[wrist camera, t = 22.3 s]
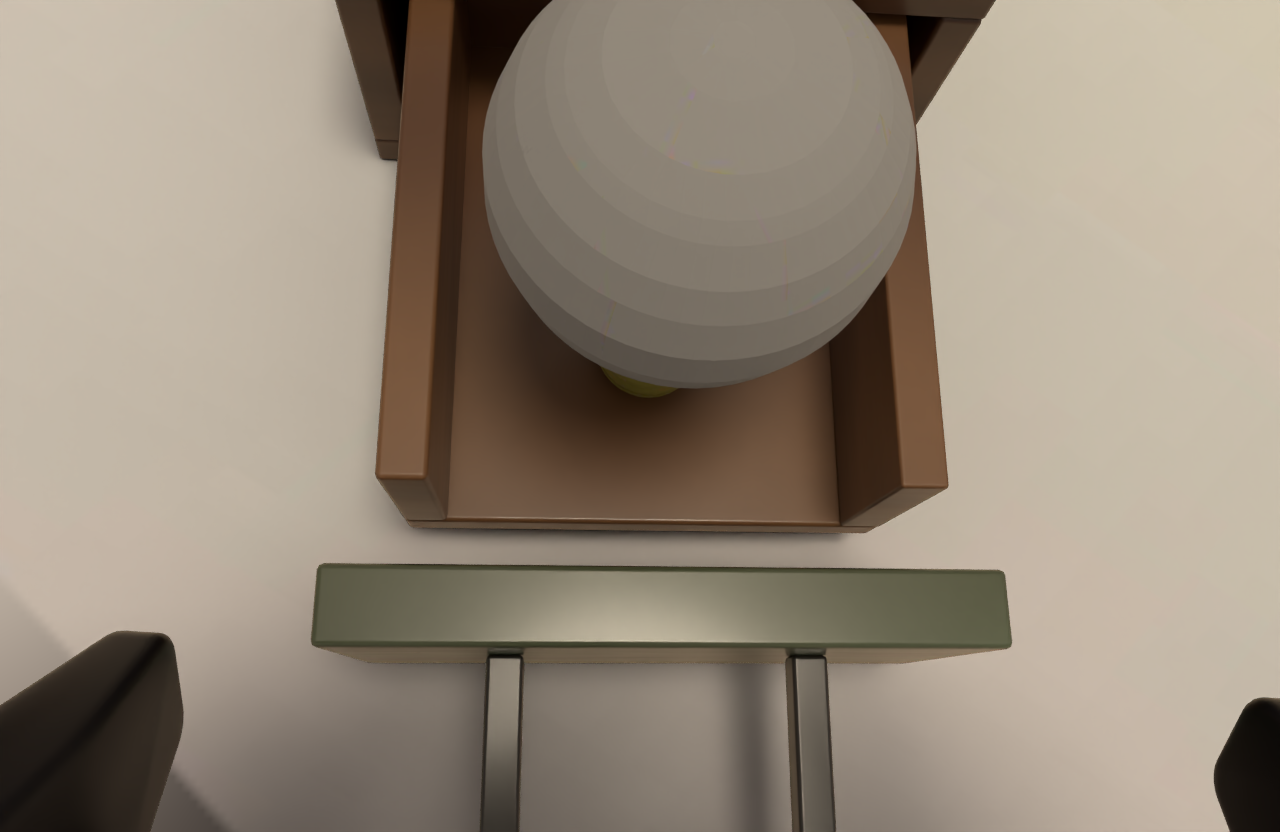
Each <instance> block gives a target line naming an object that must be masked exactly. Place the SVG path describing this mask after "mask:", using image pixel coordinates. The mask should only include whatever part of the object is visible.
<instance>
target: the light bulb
mask: <svg viewBox="0 0 1280 832" xmlns="http://www.w3.org/2000/svg"><path fill="white" fill-rule="evenodd" d="M482 158H483V176H484V193H485V206H486V212H487V218H488V223H489V227H490V230H491V234H492V237H493V241H494V243H495V246H496V248H497V251H498V253H499V256H500V258H501V260H502V262H503V264H504V266H505V268H506V270H507V272H508V274H509V276H510V277H511V279H512V280H513V282H514V283H515V285H516V286H517V288H518V289H519V291H520V292H521V294H522V295H523V297H524V298H525V299H526V301H527V302H528V303H529V305H530V306H531V308H532V309H533V310H534V311H535V313H536V314H537V315H538V316H539V317H540V319H541V320H542V321H543V322H544V323H545V324H546V325H547V326H548V327H549V328H550V329H551V330H552V331H553V332H554V333H555V334H556V335H557V336H558V337H559V338H560V339H561V340H562V341H564V342H565V343H566V344H567V345H569V346H570V347H571V348H572V349H574V350H575V351H577V352H578V353H580V354H581V355H583V356H584V357H586V358H587V359H589V360H591V361H593V362H594V363H596V364H598V365H600V367H601V369H602V370H603V372H604V374H605V375H606V377H607V378H608V379H609V380H610V381H611V382H612V383H613V384H614V385H615V386H617V387H618V388H619V389H621V390H623V391H625V392H626V393H628V394H631V395H634V396H637V397H644V398H653V397H660V396H663V395H666V394H669V393H671V392H673V391H675V390H676V389H678V388H695V389H697V388H714V387H721V386H727V385H734V384H738V383H741V382H745V381H749V380H753V379H755V378H758V377H761V376H764V375H766V374H769V373H771V372H774V371H776V370H779V369H781V368H784V367H786V366H788V365H790V364H792V363H794V362H796V361H798V360H800V359H802V358H805V357H806V356H808V355H809V354H811V353H813V352H814V351H816V350H817V349H819V348H821V347H822V346H823V345H825V344H826V343H827V342H829V341H830V340H831V339H832V338H834V337H835V336H836V335H837V334H838V333H839V332H840V331H842V330H843V329H844V328H845V327H846V326H847V325H848V324H849V323H850V322H851V321H852V319H853V318H854V317H855V316H856V315H857V313H858V312H859V311H860V310H861V309H862V307H863V306H864V305H865V303H866V302H867V300H868V299H869V297H870V296H871V295H872V293H873V292H874V290H875V289H876V287H877V286H878V284H879V283H880V282H881V280H882V279H883V277H884V276H885V274H886V273H887V271H888V270H889V268H890V267H891V265H892V263H893V261H894V259H895V257H896V255H897V253H898V251H899V249H900V247H901V244H902V242H903V239H904V236H905V234H906V231H907V227H908V224H909V220H910V216H911V211H912V204H913V198H914V187H915V172H916V135H915V127H914V121H913V116H912V111H911V107H910V103H909V100H908V96H907V92H906V89H905V86H904V82H903V79H902V75H901V73H900V70H899V68H898V65H897V63H896V61H895V58H894V56H893V55H892V53H891V51H890V49H889V47H888V45H887V43H886V42H885V40H884V39H883V37H882V36H881V34H880V32H879V31H878V29H877V28H876V27H875V26H874V24H873V23H872V22H871V20H870V19H869V18H868V17H867V15H866V14H865V13H864V12H863V11H862V10H861V9H860V8H859V7H858V6H857V5H856V4H855V3H854V2H853V1H852V0H552V1H551V2H550V3H549V4H548V5H547V6H546V7H545V8H544V9H543V10H542V11H541V12H540V13H539V14H538V15H537V17H536V18H535V19H534V20H533V21H532V22H531V24H530V25H529V27H528V28H527V29H526V31H525V32H524V34H523V35H522V37H521V38H520V40H519V42H518V44H517V45H516V47H515V49H514V51H513V53H512V55H511V56H510V58H509V60H508V62H507V64H506V66H505V68H504V70H503V72H502V73H501V75H500V77H499V79H498V82H497V84H496V87H495V89H494V92H493V94H492V97H491V100H490V104H489V107H488V111H487V114H486V120H485V126H484V132H483V147H482Z"/></svg>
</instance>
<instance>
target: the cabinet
mask: <svg viewBox="0 0 1280 832" xmlns="http://www.w3.org/2000/svg"><path fill="white" fill-rule="evenodd" d="M852 1H853V2H854V3H855V4H856V5H857V6H858V7H859V8H860V9H861V10H862V11H863V12H864V13H879V14H895V15H906V20H907V31H908V43H909V54H910V65H911V76H912V87H913V98H914V109H915V120H916V124H917V123H918V121H919V120H920V118H921V117H922V115H923V113H924V112H925V110H926V109H927V107H928V106H929V104H930V102H931V101H932V99H933V98H934V96H935V95H936V93H937V91H938V90H939V88H940V87H941V85H942V84H943V82H944V80H945V79H946V77H947V76H948V74H949V73H950V71H951V69H952V68H953V66H954V65H955V63H956V62H957V60H958V58H959V57H960V55H961V54H962V52H963V51H964V49H965V47H966V46H967V44H968V43H969V41H970V40H971V38H972V36H973V35H974V33H975V32H976V30H977V29H978V27H979V25H980V24H981V19H983V18H985V16H986V15H987V13H988V12H989V10H990V8H991V7H992V5H993V4H994V2H995V1H996V0H852ZM335 2H336V5H337V8H338V12H339V15H340V19H341V22H342V26H343V29H344V33H345V36H346V40H347V43H348V47H349V50H350V53H351V57H352V60H353V64H354V67H355V71H356V74H357V78H358V81H359V85H360V88H361V92H362V95H363V99H364V102H365V105H366V109H367V112H368V116H369V119H370V123H371V126H372V130H373V133H374V136H375V141H376V144H377V148H378V151H379V155H380V158H382V159H398V148H399V134H400V120H401V106H402V92H403V78H404V64H405V50H406V36H407V22H408V8H409V0H335Z"/></svg>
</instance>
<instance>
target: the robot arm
mask: <svg viewBox="0 0 1280 832" xmlns="http://www.w3.org/2000/svg"><path fill="white" fill-rule="evenodd" d="M183 714H184V712H183V703H182V696H181V689H180V683H179V676H178V669H177V662H176V655H175V649H174V645H173V643H172V641H171V639H170V638H169V637H168V636H167V635H165V634H162V633H154V632H137V631H116V632H113V633H111V634H109V635H107V636H105V637H104V638H102V639H101V640H99V641H98V642H96V643H94V644H93V645H91V646H90V647H88V648H87V649H85V650H84V651H82V652H81V653H79V654H78V655H76V656H75V657H73V658H72V659H70V660H69V661H67V662H65V663H64V664H62V665H61V666H59V667H58V668H56V669H55V670H53V671H52V672H51V673H49V674H47V675H46V676H44V677H43V678H41V679H40V680H38V681H37V682H35V683H33V684H32V685H30V686H29V687H27V688H26V689H24V690H23V691H21V692H20V693H18V694H17V695H15V696H14V697H12V698H11V699H9V700H8V701H6V702H5V703H3V704H1V705H0V832H150V831H151V828H152V825H153V822H154V819H155V815H156V812H157V809H158V806H159V803H160V800H161V797H162V794H163V791H164V788H165V785H166V782H167V778H168V775H169V772H170V769H171V766H172V763H173V760H174V757H175V754H176V751H177V748H178V745H179V741H180V738H181V733H182V728H183ZM1214 786H1215V792H1216V795H1217V798H1218V801H1219V804H1220V806H1221V809H1222V812H1223V814H1224V817H1225V820H1226V822H1227V825H1228V828H1229V830H1230V832H1280V698H1265V697H1264V698H1257V699H1254V700H1252V701H1251V702H1250V703H1248V704H1247V705H1246V706H1245V708H1244V709H1243V711H1242V713H1241V715H1240V717H1239V719H1238V721H1237V723H1236V724H1235V726H1234V728H1233V730H1232V732H1231V734H1230V736H1229V738H1228V740H1227V742H1226V744H1225V746H1224V748H1223V750H1222V752H1221V754H1220V756H1219V758H1218V760H1217V762H1216V765H1215V769H1214Z"/></svg>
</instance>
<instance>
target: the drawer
mask: <svg viewBox="0 0 1280 832" xmlns="http://www.w3.org/2000/svg"><path fill="white" fill-rule="evenodd" d="M551 1H552V0H409V8H408V22H407V36H406V50H405V64H404V78H403V92H402V106H401V120H400V134H399V148H398V162H397V176H396V190H395V203H394V217H393V231H392V245H391V259H390V273H389V287H388V301H387V315H386V329H385V343H384V357H383V371H382V385H381V399H380V413H379V427H378V441H377V455H376V469H375V475H376V478H377V479H378V481H379V482H380V484H381V485H382V486H383V488H384V489H385V491H386V492H387V494H388V495H389V496H390V498H391V499H392V501H393V502H394V504H395V505H396V506H397V508H398V509H399V511H400V512H401V514H402V515H403V517H404V518H405V519H406V521H407V522H408V524H409V525H410V526H411V527H422V528H499V529H577V530H654V531H732V532H809V533H866V532H868V531H870V530H872V529H874V528H875V527H877V526H880V525H882V524H884V523H886V522H887V521H889V520H891V519H893V518H895V517H896V516H898V515H900V514H902V513H904V512H905V511H907V510H909V509H911V508H913V507H914V506H916V505H918V504H920V503H922V502H923V501H925V500H927V499H929V498H931V497H932V496H934V495H936V494H938V493H940V492H941V491H943V490H945V489H947V488H948V474H947V463H946V452H945V441H944V430H943V419H942V408H941V396H940V385H939V374H938V363H937V352H936V341H935V330H934V319H933V308H932V297H931V286H930V275H929V264H928V253H927V242H926V231H925V219H924V208H923V197H922V186H921V175H920V164H919V153H918V142H917V131H916V120H915V109H914V98H913V87H912V76H911V65H910V54H909V43H908V31H907V20H906V15H895V14H879V13H865V14H866V15H867V17H868V18H869V19H870V20H871V22H872V23H873V24H874V26H875V27H876V28H877V29H878V31H879V32H880V34H881V36H882V37H883V39H884V40H885V42H886V43H887V45H888V47H889V49H890V51H891V53H892V55H893V56H894V58H895V61H896V63H897V65H898V68H899V70H900V73H901V75H902V79H903V82H904V86H905V89H906V92H907V96H908V100H909V103H910V107H911V111H912V116H913V121H914V127H915V135H916V172H915V187H914V198H913V204H912V211H911V216H910V220H909V224H908V227H907V231H906V234H905V236H904V239H903V242H902V244H901V247H900V249H899V251H898V253H897V255H896V257H895V259H894V261H893V263H892V265H891V267H890V268H889V270H888V271H887V273H886V274H885V276H884V277H883V279H882V280H881V282H880V283H879V284H878V286H877V287H876V289H875V290H874V292H873V293H872V295H871V296H870V297H869V299H868V300H867V302H866V303H865V305H864V306H863V307H862V309H861V310H860V311H859V312H858V313H857V315H856V316H855V317H854V318H853V319H852V321H851V322H850V323H849V324H848V325H847V326H846V327H845V328H844V329H843V330H842V331H840V332H839V333H838V334H837V335H836V336H835V337H834V338H832V339H831V340H830V341H829V342H827V343H826V344H825V345H823V346H822V347H821V348H819V349H817V350H816V351H814V352H813V353H811V354H809V355H808V356H806V357H805V358H802V359H800V360H798V361H796V362H794V363H792V364H790V365H788V366H786V367H784V368H781V369H779V370H776V371H774V372H771V373H769V374H766V375H764V376H761V377H758V378H755V379H753V380H749V381H745V382H741V383H738V384H734V385H727V386H721V387H714V388H697V389H695V388H678V389H676V390H675V391H673V392H671V393H669V394H666V395H663V396H660V397H653V398H644V397H637V396H634V395H631V394H628V393H626V392H625V391H623V390H621V389H619V388H618V387H617V386H615V385H614V384H613V383H612V382H611V381H610V380H609V379H608V378H607V377H606V375H605V374H604V372H603V370H602V369H601V367H600V365H598V364H596V363H594V362H593V361H591V360H589V359H587V358H586V357H584V356H583V355H581V354H580V353H578V352H577V351H575V350H574V349H572V348H571V347H570V346H569V345H567V344H566V343H565V342H564V341H562V340H561V339H560V338H559V337H558V336H557V335H556V334H555V333H554V332H553V331H552V330H551V329H550V328H549V327H548V326H547V325H546V324H545V323H544V322H543V321H542V320H541V319H540V317H539V316H538V315H537V314H536V313H535V311H534V310H533V309H532V308H531V306H530V305H529V303H528V302H527V301H526V299H525V298H524V297H523V295H522V294H521V292H520V291H519V289H518V288H517V286H516V285H515V283H514V282H513V280H512V279H511V277H510V276H509V274H508V272H507V270H506V268H505V266H504V264H503V262H502V260H501V258H500V256H499V253H498V251H497V248H496V246H495V243H494V241H493V237H492V234H491V230H490V227H489V223H488V218H487V212H486V206H485V193H484V176H483V158H482V147H483V132H484V126H485V120H486V114H487V111H488V107H489V104H490V100H491V97H492V94H493V92H494V89H495V87H496V84H497V82H498V79H499V77H500V75H501V73H502V72H503V70H504V68H505V66H506V64H507V62H508V60H509V58H510V56H511V55H512V53H513V51H514V49H515V47H516V45H517V44H518V42H519V40H520V38H521V37H522V35H523V34H524V32H525V31H526V29H527V28H528V27H529V25H530V24H531V22H532V21H533V20H534V19H535V18H536V17H537V15H538V14H539V13H540V12H541V11H542V10H543V9H544V8H545V7H546V6H547V5H548V4H549V3H550V2H551ZM311 643H312V645H313V646H315V647H318V648H321V649H324V650H328V651H331V652H334V653H338V654H341V655H344V656H348V657H351V658H355V659H358V660H361V661H365V662H368V663H486V677H485V703H484V730H483V756H482V782H481V808H480V832H519V827H520V791H521V756H522V720H523V684H524V663H785V669H786V692H787V716H788V740H789V763H790V787H791V811H792V832H836V820H835V801H834V782H833V764H832V745H831V726H830V707H829V689H828V670H827V663H910V662H917V661H924V660H932V659H939V658H946V657H953V656H960V655H967V654H975V653H982V652H989V651H996V650H1003V649H1008V648H1010V647H1011V644H1012V638H1011V628H1010V619H1009V609H1008V599H1007V590H1006V580H1005V574H1004V572H1002V571H1000V570H970V569H867V568H764V567H661V566H558V565H455V564H352V563H323V564H321V565H319V567H318V568H317V574H316V585H315V597H314V609H313V620H312V632H311Z"/></svg>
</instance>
